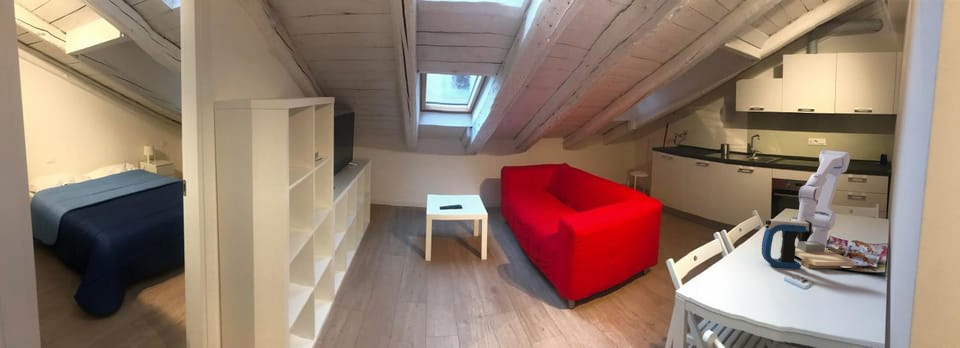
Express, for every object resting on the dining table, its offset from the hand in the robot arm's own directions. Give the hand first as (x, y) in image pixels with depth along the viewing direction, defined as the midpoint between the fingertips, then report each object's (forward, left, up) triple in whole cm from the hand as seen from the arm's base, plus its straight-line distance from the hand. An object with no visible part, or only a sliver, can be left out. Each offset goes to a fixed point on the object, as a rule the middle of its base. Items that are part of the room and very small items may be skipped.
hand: (802, 244), depth 197 cm
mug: (-24, +18, -5) cm, 30 cm away
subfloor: (+8, 0, -4) cm, 10 cm away
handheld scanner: (+14, -18, -5) cm, 24 cm away
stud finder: (+5, 0, -1) cm, 5 cm away
